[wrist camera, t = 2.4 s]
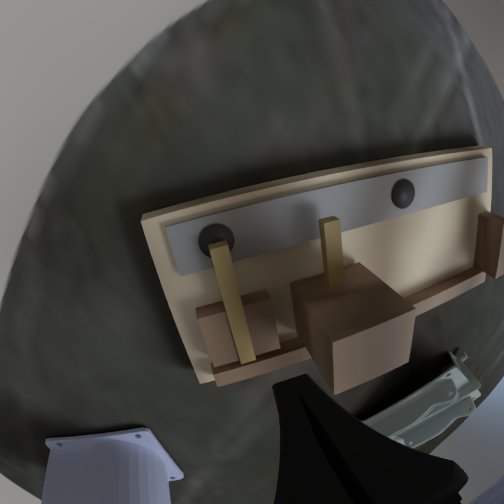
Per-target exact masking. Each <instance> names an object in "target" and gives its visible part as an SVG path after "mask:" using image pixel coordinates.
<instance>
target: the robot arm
mask: <svg viewBox="0 0 504 504" xmlns="http://www.w3.org/2000/svg"><path fill="white" fill-rule="evenodd" d="M272 388H273V392H274V397H275V401H276V405H277V410H278V414H279V422H280V463H279V474H278V481H277V489H276V495H275V500H274V504H461V503H460V501H461V500H462V498H461V496H460V495H459V493H458V492H459V491H460V490H461V489H462V488H463V486H464V485H465V484H466V483H467V481H468V476H467V474H466V473H465V472H464V470H463V469H461V467H459V465H457V464H456V463H455V462H454V461H452V460H448V459H444V458H440V457H436V456H433V455H430V454H427V453H424V452H421V451H418V450H415V449H413V448H410V447H408V446H406V445H403V444H401V443H399V442H396V441H394V440H392V439H390V438H388V437H387V436H385V435H383V434H381V433H379V432H377V431H376V430H374V429H372V428H371V427H369V426H368V425H366V424H364V423H363V422H362V421H360V420H359V419H357V418H356V417H354V416H353V415H352V414H350V413H349V412H348V411H346V410H345V409H344V408H343V407H341V406H340V405H339V404H338V403H337V402H335V401H334V400H333V399H332V398H331V397H330V396H329V395H327V394H326V393H325V392H324V391H323V390H322V389H321V388H320V387H319V386H318V385H317V384H316V383H315V382H314V381H313V380H312V378H311V377H310V376H309V375H308V374H303V375H300V376H297V377H294V378H291V379H288V380H285V381H282V382H279V383H276V384H274V385H273V386H272ZM45 444H46V445H47V446H48V448H49V449H50V453H49V459H48V464H47V470H46V475H45V482H44V488H43V495H42V504H171V501H170V492H169V483H168V481H173V480H179V479H182V478H183V477H184V475H183V472H182V471H181V470H180V469H179V468H178V466H177V465H176V464H175V463H174V461H173V460H172V459H171V457H170V456H169V455H168V454H167V452H166V451H165V450H164V448H163V447H162V446H161V444H160V443H159V442H158V440H157V439H156V437H155V436H154V435H153V433H152V432H151V431H150V430H149V429H148V428H144V427H143V428H136V429H130V430H123V431H116V432H109V433H101V434H92V435H83V436H72V437H59V438H47V439H46V440H45ZM469 504H504V476H502V477H501V478H500V479H499V480H498V481H497V482H495V483H494V484H493V485H492V486H491V487H489V488H488V489H487V490H486V491H484V492H483V493H482V494H481V495H480V496H478V497H477V498H476V499H474V500H473V501H471V502H470V503H469Z"/></svg>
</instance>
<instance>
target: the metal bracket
mask: <svg viewBox="0 0 504 504" xmlns="http://www.w3.org/2000/svg"><path fill="white" fill-rule="evenodd" d="M449 354H450V356H451V358H452V360H453V362H454V364H455V366H453V367H451V368H450V369H449V370H447V371H446V372H444V373H443V374H441V375H440V376H438V377H437V378H435V379H434V380H432V381H431V382H429V383H428V384H426V385H425V386H423V387H422V388H420V389H418V390H417V391H415V392H414V393H412V394H410V395H409V396H407V397H405V398H404V399H402V400H400V401H399V402H397V403H395V404H394V405H392V406H390V407H388V408H387V409H385V410H383V411H381V412H379V413H378V414H376V415H374V416H372V417H370V418H368V419H366V420H364V421H362V422H363V423H364V424H366V425H368V426H369V427H371V428H372V429H374V430H376V431H377V432H379V433H381V434H383V435H385V436H387V437H388V438H390V439H392V440H394V441H396V442H399V443H401V444H403V445H406V446H408V447H410V448H415V447H417V446H419V445H421V444H423V443H425V442H426V441H428V440H430V439H432V438H434V437H436V436H437V435H439V434H441V433H442V432H443V431H444V430H445V429H446V428H447V427H448V426H449V425H450V424H451V423H453V422H454V421H455V420H456V419H457V418H460V417H464V416H468V415H472V414H473V413H474V412H475V410H476V406H475V404H474V402H473V401H474V400H475V399H476V398H478V397H479V396H480V395H481V393H480V392H479V391H478V390H477V389H479V388H480V383H479V382H478V381H477V379H476V378H475V377H474V375H473V374H472V373H471V371H470V370H469V369H468V367H467V366H466V365H465V364H464V363H463V362H464V361H465V359H468V357H467V355H466V353H465V352H464V353H463V354H461V355H460V356H459V357H458V358H456V357H455V356H454V355H453V354H452V353H451V351H449ZM447 374H448V375H447ZM470 407H471V410H470V411H469V410H468V409H469V408H470Z"/></svg>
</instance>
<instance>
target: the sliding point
mask: <svg viewBox="0 0 504 504" xmlns="http://www.w3.org/2000/svg"><path fill="white" fill-rule="evenodd" d="M318 222H319V230H320V239H321V249H322V259H323V269H324V273H323V274H319V275H316V276H313V277H310V278H306V279H303V280H300V281H296V282H293V283H290V289H291V296H292V303H293V310H294V317H295V324H296V331H297V334H298V336H299V337H300V339H301V341H302V342H303V344H304V346H305V347H306V349H307V351H308V352H309V354H310V356H311V357H312V359H313V361H314V362H315V364H316V366H317V367H318V369H319V370H320V372H321V374H322V375H323V377H324V379H325V380H326V382H327V384H328V385H329V387H330V389H331V390H332V392H333V394H334V395H336V394H338V393H341V392H343V391H346V390H348V389H350V388H353V387H355V386H358V385H360V384H362V383H365V382H367V381H369V380H371V379H374V378H376V377H378V376H380V375H383V374H385V373H387V372H389V371H391V370H393V369H395V368H397V367H399V366H402V365H404V364H406V363H408V362H409V356H410V350H411V344H412V337H413V330H414V322H415V314H416V308H415V307H414V306H412V305H411V304H410V303H409V302H408V301H407V300H405V299H404V298H403V297H402V296H401V295H399V294H398V293H397V292H396V291H394V290H393V289H392V288H391V287H390V286H388V285H387V284H386V283H385V282H384V281H382V280H381V279H380V278H379V277H377V276H376V275H375V274H374V273H372V272H371V271H370V270H369V269H367V268H366V267H365V266H364V265H362V264H361V263H360V262H358V263H355V264H351V265H348V266H345V267H344V266H343V251H342V237H341V226H340V219H339V218H337V217H335V216H330V217H326V218H322V219H319V220H318Z"/></svg>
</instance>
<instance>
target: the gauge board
mask: <svg viewBox="0 0 504 504" xmlns="http://www.w3.org/2000/svg"><path fill="white" fill-rule="evenodd" d="M491 191H492V148H489V147H484V146H480V145H479V146H470V147H462V148H454V149H447V150H439V151H432V152H425V153H418V154H412V155H405V156H399V157H393V158H387V159H381V160H375V161H369V162H364V163H358V164H353V165H347V166H342V167H337V168H332V169H326V170H321V171H316V172H312V173H307V174H302V175H297V176H292V177H288V178H283V179H279V180H274V181H270V182H265V183H261V184H257V185H252V186H248V187H244V188H240V189H235V190H231V191H227V192H223V193H219V194H215V195H211V196H207V197H203V198H199V199H196V200H192V201H188V202H184V203H181V204H177V205H173V206H170V207H166V208H162V209H159V210H155V211H152V212H148V213H145V214H143V215H142V218H141V224H142V227H143V230H144V234H145V237H146V240H147V243H148V246H149V249H150V252H151V255H152V259H153V262H154V264H155V267H156V270H157V273H158V276H159V279H160V282H161V285H162V288H163V290H164V293H165V296H166V299H167V302H168V304H169V307H170V310H171V312H172V315H173V318H174V320H175V323H176V326H177V328H178V331H179V333H180V336H181V338H182V341H183V343H184V346H185V348H186V351H187V353H188V356H189V358H190V361H191V363H192V365H193V368H194V370H195V373H196V375H197V377H198V380H199V382H200V384H202V383H206V382H210V381H213V380H215V381H216V384H217V386H218V387H219V386H223V385H227V384H230V383H234V382H238V381H241V380H245V379H248V378H252V377H255V376H258V375H262V374H265V373H268V372H271V371H275V370H278V369H281V368H284V367H287V366H290V365H293V364H296V363H299V362H302V361H305V360H308V359H311V358H312V357H311V356H310V354H309V352H308V351H307V349H306V347H305V346H304V344H303V342H302V341H301V339H300V337H299V336H298V334H297V331H296V324H295V317H294V310H293V303H292V296H291V289H290V283H293V282H296V281H300V280H303V279H306V278H310V277H313V276H316V275H319V274H323V273H324V269H323V259H322V249H321V239H320V230H319V222H318V220H319V219H322V218H326V217H330V216H335V217H337V218H339V219H340V226H341V237H342V251H343V266H344V267H345V266H348V265H351V264H355V263H358V262H360V263H361V264H362V265H364V266H365V267H366V268H367V269H369V270H370V271H371V272H372V273H374V274H375V275H376V276H377V277H379V278H380V279H381V280H382V281H384V282H385V283H386V284H387V285H388V286H390V287H391V288H392V289H393V290H394V291H396V292H397V293H398V294H399V295H401V296H402V297H403V298H404V299H405V300H407V301H408V302H409V303H410V304H411V305H412V306H414V307H415V308H416V314H415V316H417V315H419V314H421V313H424V312H426V311H428V310H430V309H432V308H434V307H436V306H438V305H440V304H442V303H444V302H446V301H448V300H450V299H452V298H454V297H456V296H458V295H460V294H462V293H464V292H466V291H468V290H470V289H471V288H473V287H475V286H477V285H479V284H481V283H483V282H484V281H485V276H486V273H487V274H488V275H490V276H491V277H493V278H495V279H496V278H498V277H500V276H501V275H503V274H504V218H503V217H501V216H498V215H496V214H494V213H491V212H490V210H491Z"/></svg>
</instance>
